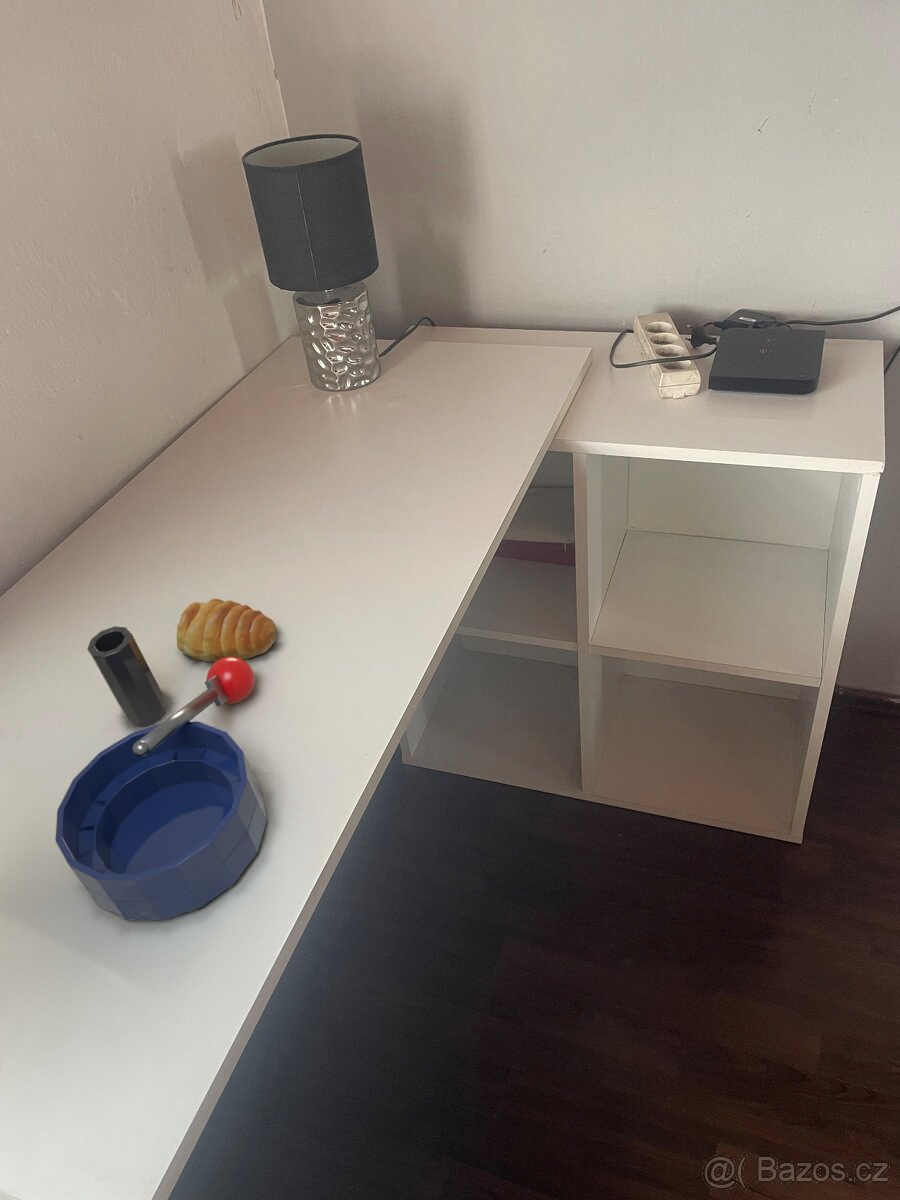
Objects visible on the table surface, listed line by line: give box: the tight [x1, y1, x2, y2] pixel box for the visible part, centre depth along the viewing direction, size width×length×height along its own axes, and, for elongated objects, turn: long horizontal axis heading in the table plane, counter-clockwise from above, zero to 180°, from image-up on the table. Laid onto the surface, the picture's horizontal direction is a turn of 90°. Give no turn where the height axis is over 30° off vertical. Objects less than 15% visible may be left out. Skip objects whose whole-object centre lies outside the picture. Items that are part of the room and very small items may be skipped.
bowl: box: [55, 721, 268, 921], centre depth 66 cm, size 14×14×6 cm
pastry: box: [176, 598, 277, 662], centre depth 83 cm, size 9×7×4 cm
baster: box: [133, 657, 256, 757], centre depth 71 cm, size 4×4×19 cm
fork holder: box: [87, 625, 168, 728], centre depth 76 cm, size 4×4×9 cm
